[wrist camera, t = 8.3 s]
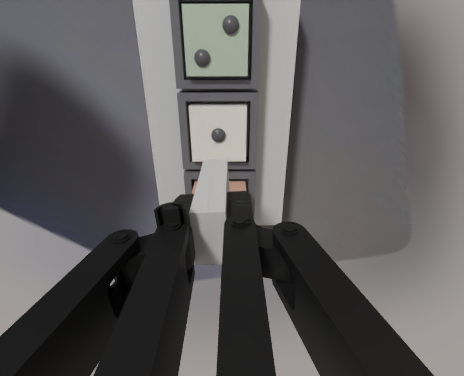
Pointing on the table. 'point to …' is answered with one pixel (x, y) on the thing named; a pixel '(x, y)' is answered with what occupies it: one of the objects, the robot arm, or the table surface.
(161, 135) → the tile tray
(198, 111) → the one dot tile
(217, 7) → the two dot tile
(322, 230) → the table surface
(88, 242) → the table surface
